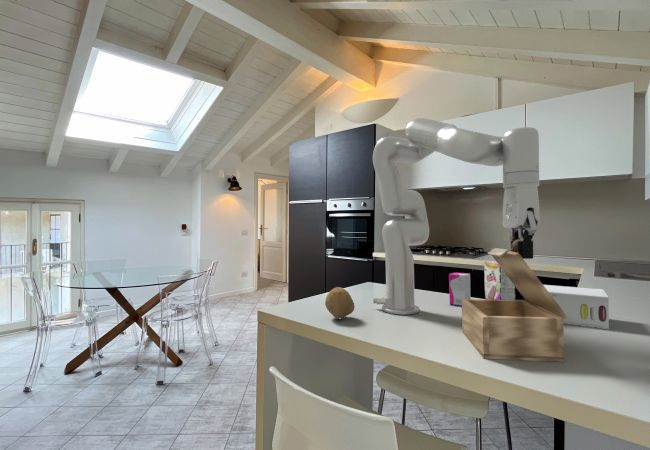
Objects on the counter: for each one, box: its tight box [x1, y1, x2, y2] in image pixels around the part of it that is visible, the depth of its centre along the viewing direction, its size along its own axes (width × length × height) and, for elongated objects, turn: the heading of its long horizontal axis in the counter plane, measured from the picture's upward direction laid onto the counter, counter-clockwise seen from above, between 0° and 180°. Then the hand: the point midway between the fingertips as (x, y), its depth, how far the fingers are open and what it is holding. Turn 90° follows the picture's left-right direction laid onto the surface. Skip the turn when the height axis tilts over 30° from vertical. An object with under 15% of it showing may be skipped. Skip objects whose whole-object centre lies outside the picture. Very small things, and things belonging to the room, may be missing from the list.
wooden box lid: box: [486, 239, 567, 319], centre depth 79 cm, size 17×18×8 cm
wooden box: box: [461, 298, 565, 363], centre depth 79 cm, size 16×18×9 cm
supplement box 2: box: [538, 284, 610, 330], centre depth 100 cm, size 17×13×9 cm
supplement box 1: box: [448, 272, 472, 308], centre depth 120 cm, size 6×6×12 cm
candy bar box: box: [483, 260, 516, 300], centre depth 109 cm, size 11×5×16 cm, turn 179°
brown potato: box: [324, 286, 355, 319], centre depth 105 cm, size 9×9×10 cm
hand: (521, 256), depth 79 cm, fingers closed on wooden box lid, 3 cm apart
